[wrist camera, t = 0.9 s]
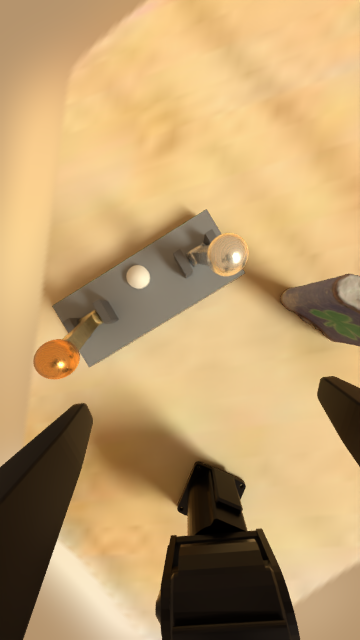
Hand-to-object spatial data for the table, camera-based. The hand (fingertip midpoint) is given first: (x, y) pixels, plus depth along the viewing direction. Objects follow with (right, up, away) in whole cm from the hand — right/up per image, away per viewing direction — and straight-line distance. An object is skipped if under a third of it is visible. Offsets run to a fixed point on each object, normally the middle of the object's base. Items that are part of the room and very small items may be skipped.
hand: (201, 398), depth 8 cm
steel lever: (+1, +10, +12) cm, 16 cm away
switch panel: (-4, +6, +16) cm, 18 cm away
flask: (+15, +4, +16) cm, 22 cm away
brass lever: (-10, +3, +13) cm, 17 cm away
